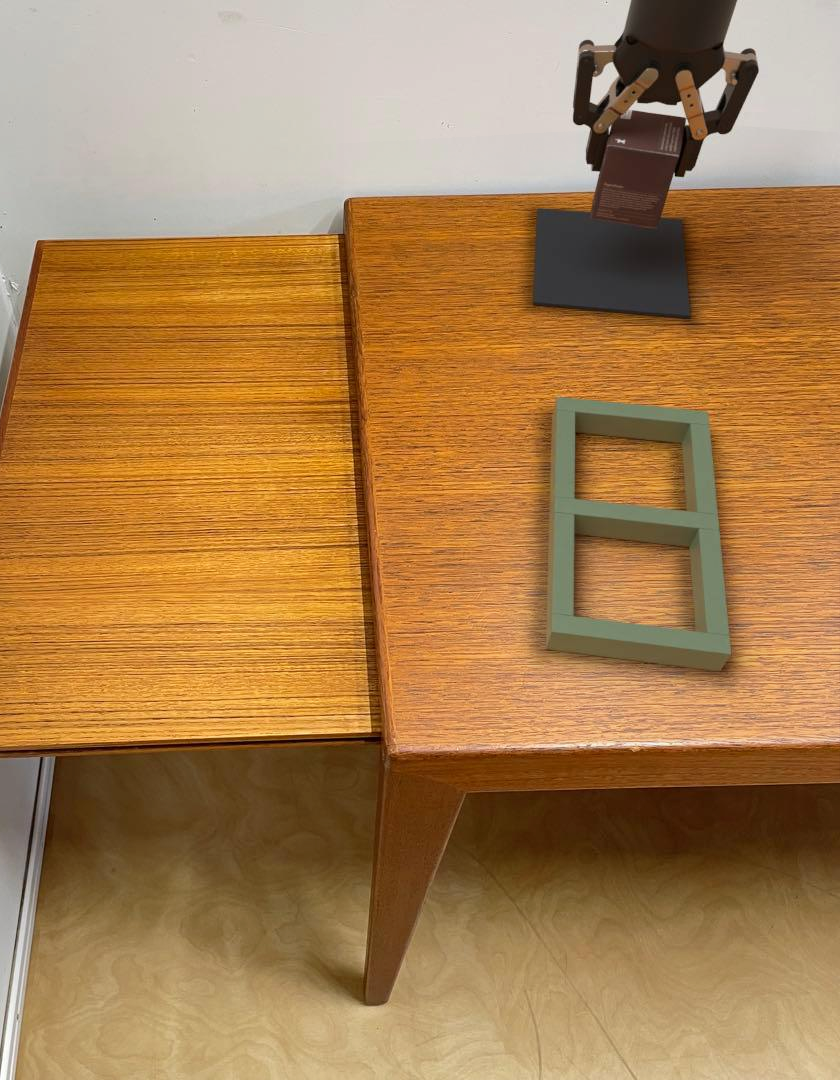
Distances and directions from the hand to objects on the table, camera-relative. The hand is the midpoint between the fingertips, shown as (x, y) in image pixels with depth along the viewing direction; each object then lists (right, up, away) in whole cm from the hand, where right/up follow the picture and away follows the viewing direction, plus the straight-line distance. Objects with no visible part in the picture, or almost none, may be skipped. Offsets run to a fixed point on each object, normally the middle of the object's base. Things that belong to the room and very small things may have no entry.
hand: (636, 168), depth 86 cm
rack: (-4, -32, -10) cm, 34 cm away
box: (0, -2, +3) cm, 4 cm away
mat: (0, -6, +8) cm, 10 cm away
